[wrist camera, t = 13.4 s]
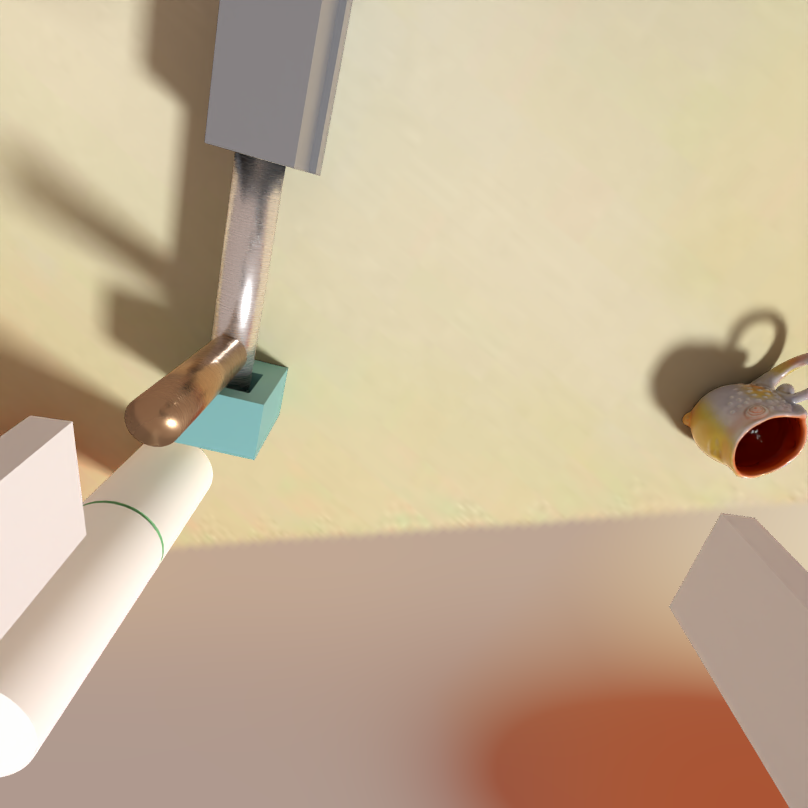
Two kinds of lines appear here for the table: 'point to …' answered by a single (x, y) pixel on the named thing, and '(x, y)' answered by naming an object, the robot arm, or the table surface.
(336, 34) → the outer sleeve
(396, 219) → the table surface
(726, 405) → the mug
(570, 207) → the table surface
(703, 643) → the robot arm
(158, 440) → the sliding bolt
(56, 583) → the cylindrical container
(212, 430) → the end socket
